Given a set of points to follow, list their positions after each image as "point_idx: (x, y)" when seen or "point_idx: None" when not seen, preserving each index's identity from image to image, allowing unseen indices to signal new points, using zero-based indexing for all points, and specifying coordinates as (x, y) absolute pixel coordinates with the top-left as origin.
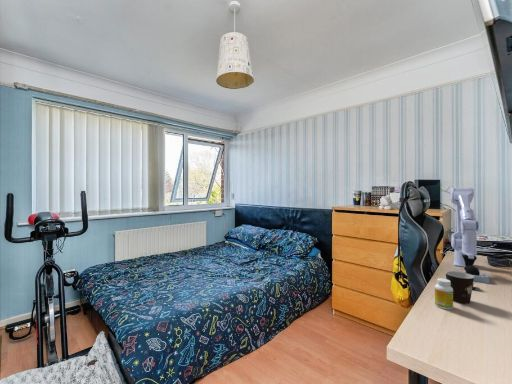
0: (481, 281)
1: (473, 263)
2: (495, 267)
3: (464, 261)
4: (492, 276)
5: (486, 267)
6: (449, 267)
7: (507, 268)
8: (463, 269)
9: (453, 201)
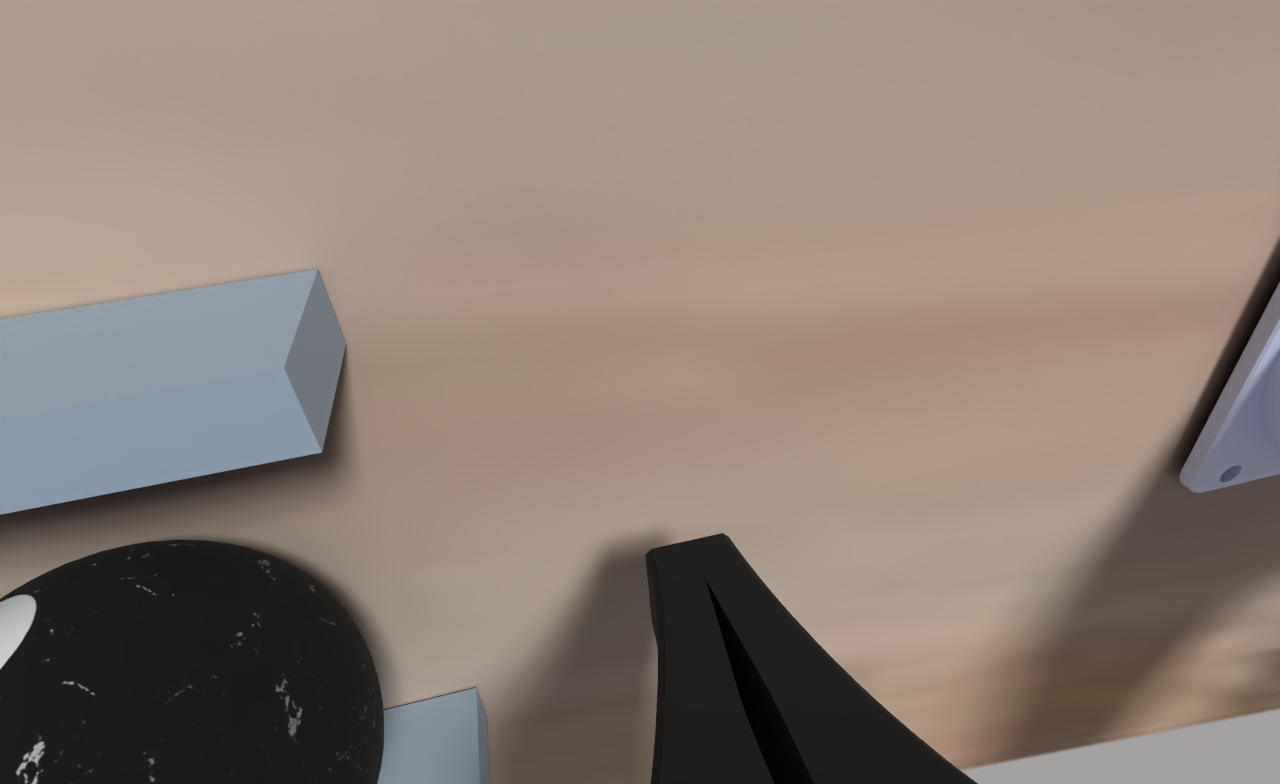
0: None
1: None
2: (1271, 649)
3: (858, 712)
4: None
5: (1257, 592)
6: (1119, 23)
7: (1239, 716)
8: (16, 687)
9: None
